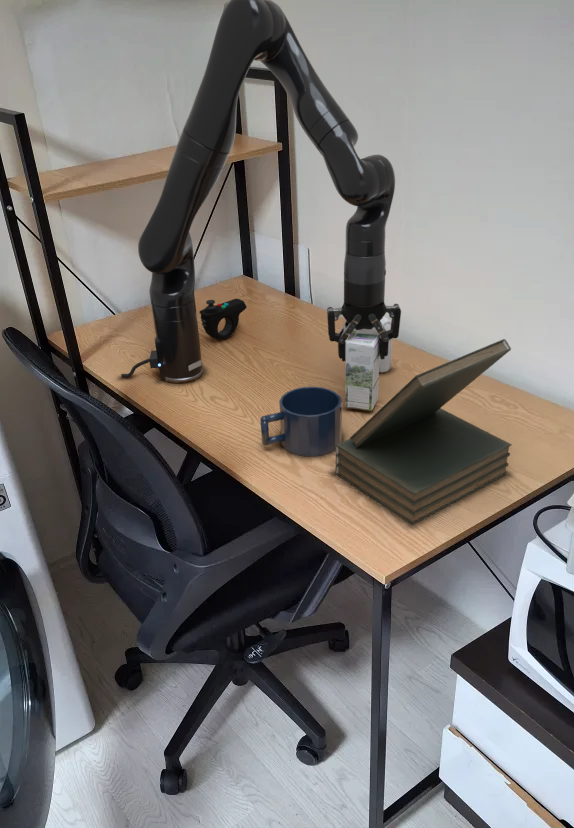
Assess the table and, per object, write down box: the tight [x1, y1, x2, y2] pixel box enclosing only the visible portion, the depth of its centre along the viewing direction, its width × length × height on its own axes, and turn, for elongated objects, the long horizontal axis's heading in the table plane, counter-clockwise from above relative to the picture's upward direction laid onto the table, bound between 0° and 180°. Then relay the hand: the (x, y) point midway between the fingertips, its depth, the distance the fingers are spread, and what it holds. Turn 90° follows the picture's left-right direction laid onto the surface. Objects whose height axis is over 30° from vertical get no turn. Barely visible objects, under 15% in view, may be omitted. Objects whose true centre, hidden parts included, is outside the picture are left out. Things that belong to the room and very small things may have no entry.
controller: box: [199, 298, 247, 341], centre depth 186 cm, size 4×12×10 cm, turn 133°
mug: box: [259, 386, 343, 457], centre depth 146 cm, size 16×11×8 cm
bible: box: [335, 338, 513, 526], centre depth 131 cm, size 23×20×25 cm
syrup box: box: [344, 331, 380, 412], centre depth 154 cm, size 6×6×14 cm
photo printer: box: [353, 315, 393, 374], centre depth 170 cm, size 10×4×12 cm, turn 39°
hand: (362, 358), depth 152 cm, fingers closed on syrup box, 7 cm apart
